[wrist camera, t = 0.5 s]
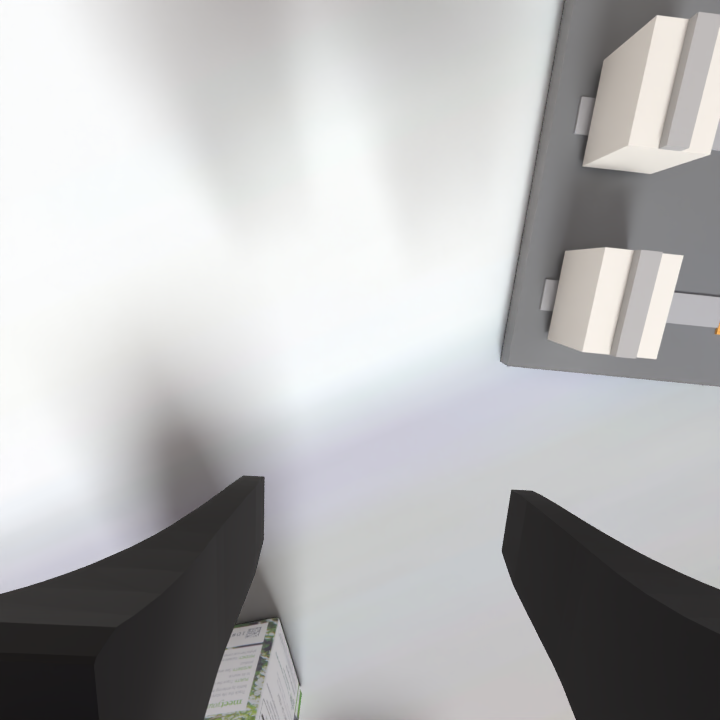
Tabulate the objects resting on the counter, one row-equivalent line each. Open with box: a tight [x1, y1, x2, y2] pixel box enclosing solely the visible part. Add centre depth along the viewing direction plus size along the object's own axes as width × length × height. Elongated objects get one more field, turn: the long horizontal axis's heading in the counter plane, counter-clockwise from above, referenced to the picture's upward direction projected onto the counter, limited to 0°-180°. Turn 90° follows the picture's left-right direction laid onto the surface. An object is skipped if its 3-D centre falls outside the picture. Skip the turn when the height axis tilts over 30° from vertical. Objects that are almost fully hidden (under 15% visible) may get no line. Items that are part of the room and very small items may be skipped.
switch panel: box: [500, 0, 720, 387], centre depth 18 cm, size 12×22×1 cm, turn 174°
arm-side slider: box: [547, 247, 683, 359], centre depth 17 cm, size 3×4×3 cm
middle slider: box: [582, 12, 720, 174], centre depth 15 cm, size 3×4×3 cm
